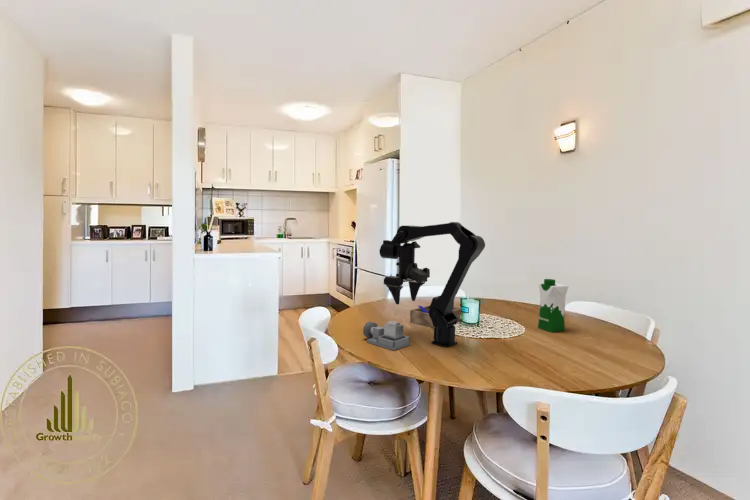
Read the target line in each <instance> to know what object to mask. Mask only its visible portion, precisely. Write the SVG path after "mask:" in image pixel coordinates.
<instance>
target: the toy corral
mask: <svg viewBox="0 0 750 500" xmlns="http://www.w3.org/2000/svg"><path fill="white" fill-rule="evenodd" d="M429 306H430V305H428V306H427V305H426V306H423V307H424V308H425V310H426V311H429V309H430V308H428V307H429ZM461 308H462V307H458V306H454V307H453V311H452V312H453V313H454V314H455V316H456V317H457V318H458V321H457V322H460V321H461V320H460V315H461ZM409 313H410V314H409V320H410V321H409V322H410V323H413V324H416V325H420V326H426V327H429V328H433V329H434V328H435V327H433V323H432V320H431V318H430V316H429V314H428V313H424V312H422V311H421V308H419V307H418V308H415V309H414V308H413V309H411V310H410V312H409Z"/></svg>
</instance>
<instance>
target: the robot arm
mask: <svg viewBox="0 0 750 500" xmlns="http://www.w3.org/2000/svg"><path fill="white" fill-rule="evenodd" d="M443 235H445V236H446V235H451V236H452V238H453V239H454V240H455V242H456V243H457V244H458V245H459V248H458V259H457V261H456V263H455V265H454V268H453V269H452V272H451V274H450V276H449V278H448V279H447V282H446V283H445V286H444V288H443V290H442V292H441V294H440V295H438V296H435V297H432V300H431V303H430V304H429V305H428V306H429V307H428V308H430V309H429V312H428V314H429V316H430V318H431V320H432V323H433V327H435V328H433V327H432V328H433V340H432V341H431V343H432V344H435V345H439V346H442V347H446V348H448V347H451V346H454V345H457V344H458V341H456V340H455V339H456V326H455V325H457V324H458V322H459V321H458V318H457V317H456V316H455V314H454V313H453V312H452V311H453V307H455V306H454V305H455V298H456V296H457V294H458V292H459V290H460V288H461V286H462V284H463V282H464V279H465V278H466V276H467V274H468V271H469V269H470V267H471V266H472V264H473V262H474V261H475V260H476V259H477V258H478V257H479V256H480V254H482V252H483V251H484V249H485V248H486V242H485V240H484V238H483V237H482V236H480V235H476V234H475V233H474V232H473V231H471V230H469V229H468V228H466V227H465V226H463V224H461V223H460V222H458V221H457V222H456V221H450V222H448V223H439V224H431V225H422V226H421V225H401V226H398V228H397V231H396V233H395V235H394V236H393V238H392V240H388V239H384V240H383V241H382V244H381V246H380V248H379V255H380V257H381V258H382V259H390V260H397V259H398V261H397V262H396V263H395V265H396V266H397V267H398V272H397V273H396V274H395V276H394V275H390V276H389V275H388V276H384V278H383V285H385V286H386V287H387V288H388V290H389V293H390V294H391V296H392V299H393V300H394V303H395V305H399V304H400V301H401V300H400V299H401V290H402V289H403V288H404V286H403V284H404V283H406V282H408V286H409V292H410V298H411V301H412V302H415V301H416V298H417V296H418V293H419V290H420V288H421V287H422V286H423V285H425V284H426V283H427V282H428V278H430V277H431V276H430V274H431V273H430V272H431V269H430V268H428V267H423V268H418V263H417V262H415V259H416V258H415V257H416V256H415V255H416V254H415V252H416V249H420V248H421V246H420V244H419V243H418V242H417V240H421V239H422V238H425V237H434V236H443Z"/></svg>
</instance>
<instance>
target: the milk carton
mask: <svg viewBox="0 0 750 500" xmlns="http://www.w3.org/2000/svg"><path fill="white" fill-rule="evenodd" d="M538 287H539V288H538V289H539V293H540V295H539V313H538V315H539V316H538V322H537V329H541V330H542V331H546V332H549V333H558V332H565V331H566V328H565V327H566V325H565V313H566V312H565V311H566V296H567V292H568V290H569V285H566V284H560V283H556V279H552V278H545V279H544V280H543V283H538Z"/></svg>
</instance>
